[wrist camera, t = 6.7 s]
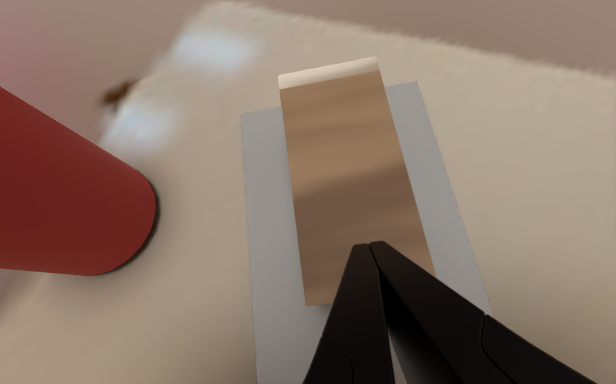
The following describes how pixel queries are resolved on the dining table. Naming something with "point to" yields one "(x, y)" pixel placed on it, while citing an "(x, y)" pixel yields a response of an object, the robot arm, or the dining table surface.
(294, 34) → the dining table surface
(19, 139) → the beer can
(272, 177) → the rubber mat
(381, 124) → the walnut block
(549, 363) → the robot arm
